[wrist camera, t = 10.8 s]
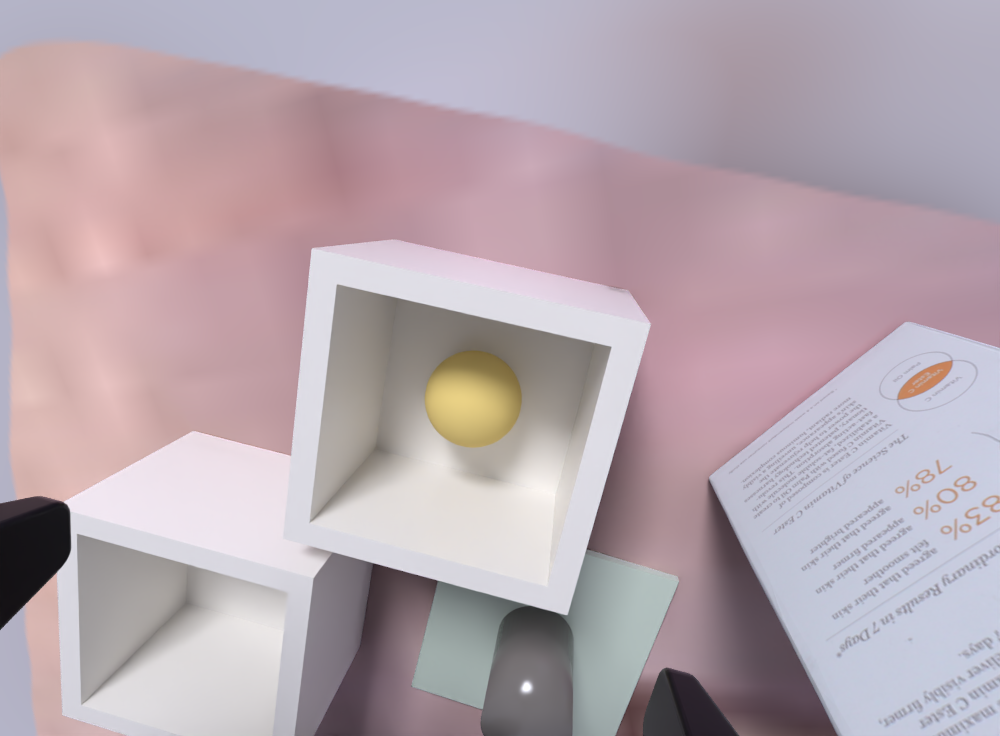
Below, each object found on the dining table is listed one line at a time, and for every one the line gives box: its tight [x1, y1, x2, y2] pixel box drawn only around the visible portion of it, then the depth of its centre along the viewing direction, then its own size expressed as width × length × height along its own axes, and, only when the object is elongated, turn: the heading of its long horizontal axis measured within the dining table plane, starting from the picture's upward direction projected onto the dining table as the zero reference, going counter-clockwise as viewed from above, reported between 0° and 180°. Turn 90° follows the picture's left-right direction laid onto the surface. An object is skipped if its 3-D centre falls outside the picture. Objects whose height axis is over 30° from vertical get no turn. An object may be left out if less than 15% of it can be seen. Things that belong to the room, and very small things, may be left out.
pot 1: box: [57, 431, 373, 736], centre depth 20 cm, size 8×8×6 cm
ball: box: [425, 350, 522, 448], centre depth 17 cm, size 3×3×3 cm
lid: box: [411, 549, 679, 736], centre depth 20 cm, size 9×9×5 cm
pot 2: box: [283, 239, 651, 615], centre depth 17 cm, size 8×8×6 cm
